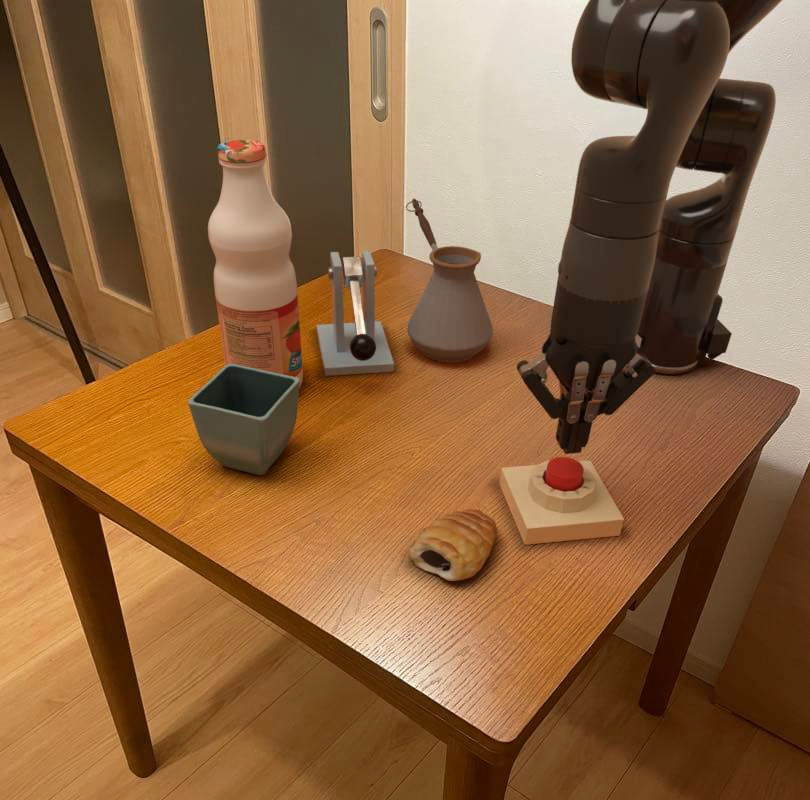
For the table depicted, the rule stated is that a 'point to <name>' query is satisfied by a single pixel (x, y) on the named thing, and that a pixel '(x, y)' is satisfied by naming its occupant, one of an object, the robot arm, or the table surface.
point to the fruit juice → (254, 266)
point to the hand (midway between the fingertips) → (570, 448)
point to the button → (564, 474)
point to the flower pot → (246, 416)
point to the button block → (559, 506)
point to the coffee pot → (449, 303)
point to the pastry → (455, 544)
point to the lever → (357, 309)
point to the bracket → (352, 326)
